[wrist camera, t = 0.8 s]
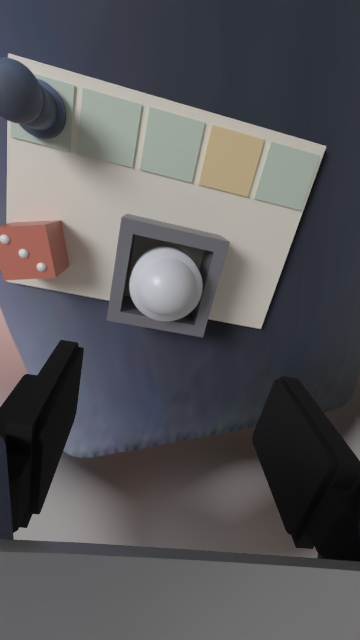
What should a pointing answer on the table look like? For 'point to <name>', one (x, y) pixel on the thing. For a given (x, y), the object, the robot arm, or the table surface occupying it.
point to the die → (32, 250)
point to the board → (160, 187)
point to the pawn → (30, 101)
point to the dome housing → (213, 244)
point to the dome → (165, 283)
